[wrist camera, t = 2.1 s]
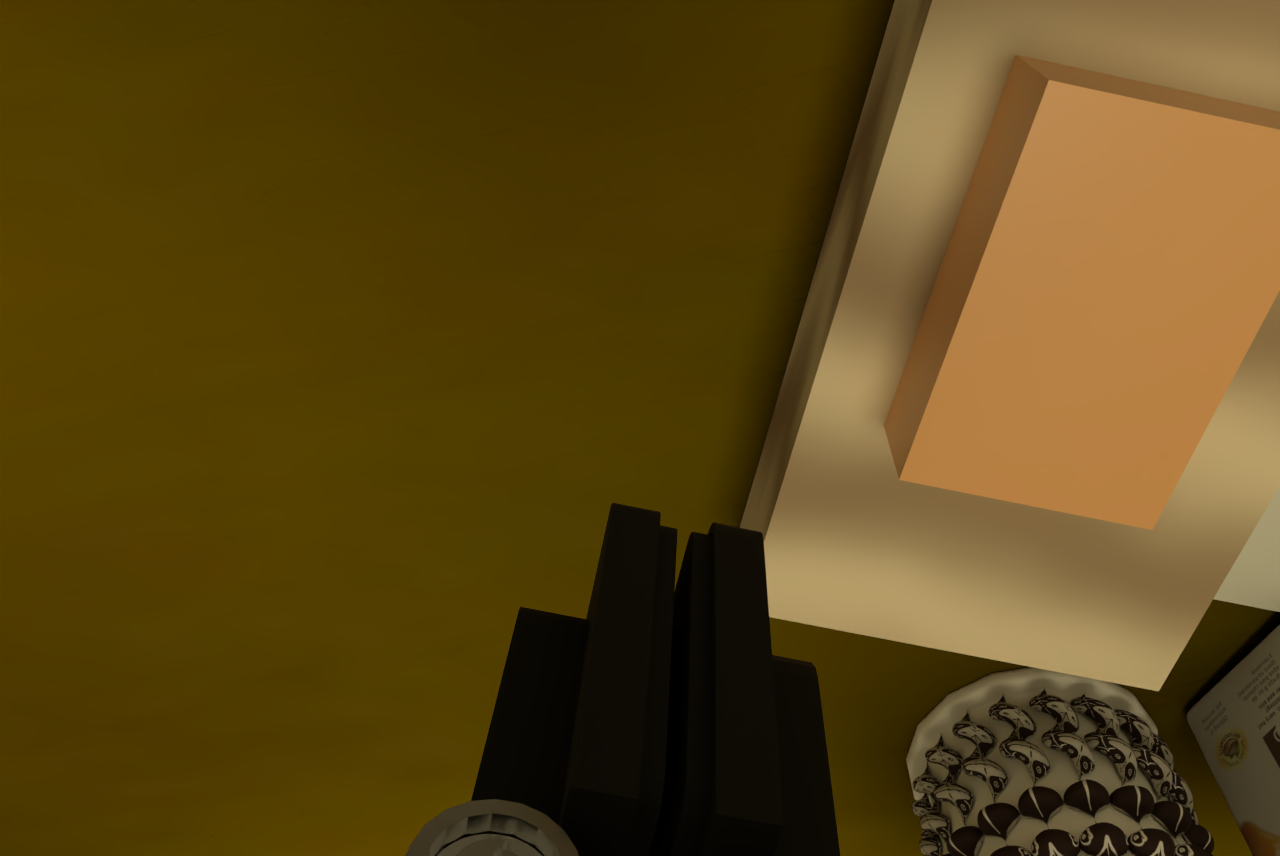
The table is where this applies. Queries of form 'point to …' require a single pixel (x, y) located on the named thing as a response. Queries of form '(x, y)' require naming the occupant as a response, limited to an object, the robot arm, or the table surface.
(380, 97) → the table surface
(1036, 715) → the decorative candle
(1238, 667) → the coffee box
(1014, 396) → the orange rectangular block
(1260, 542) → the mat
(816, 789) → the robot arm
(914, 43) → the beige brown rectangular block
